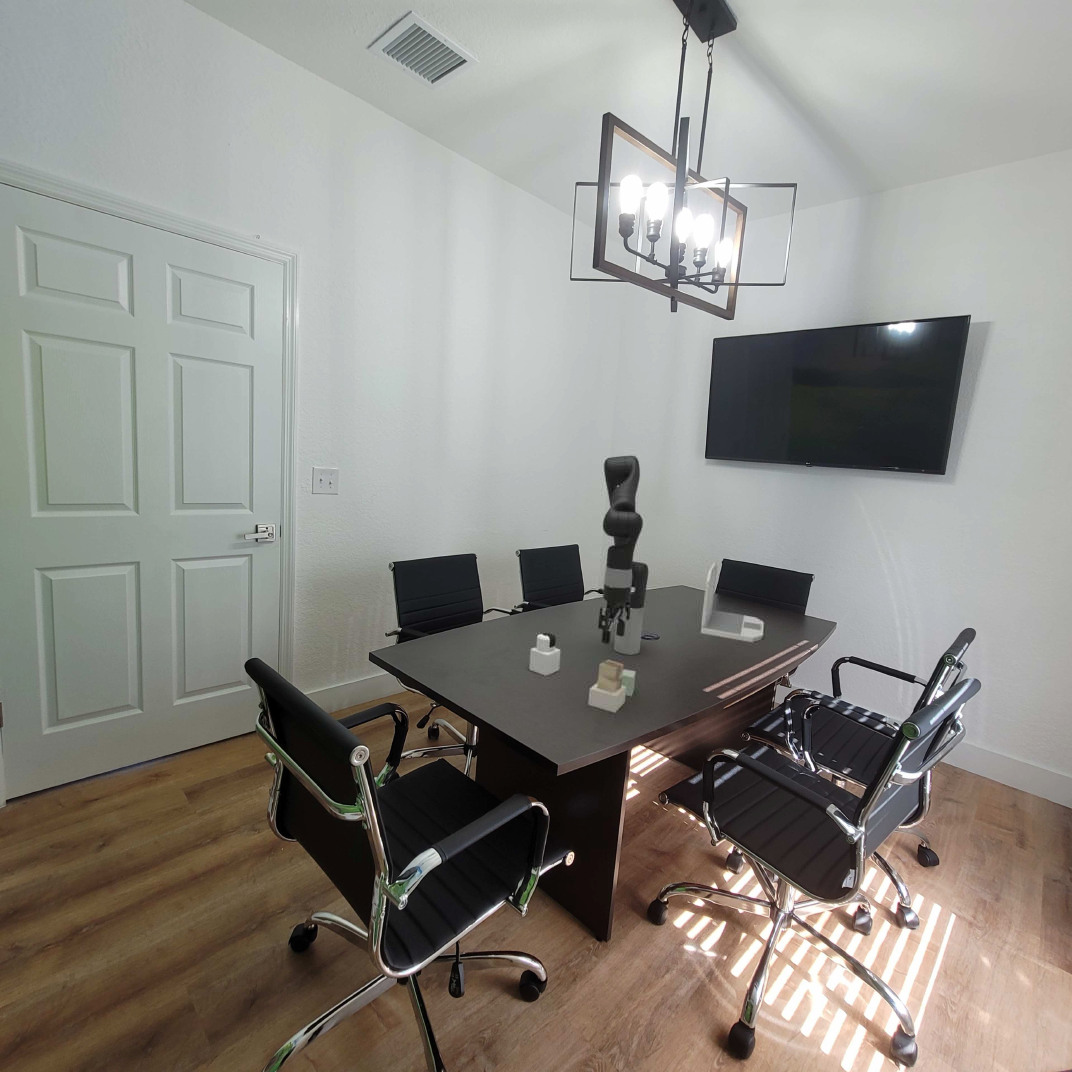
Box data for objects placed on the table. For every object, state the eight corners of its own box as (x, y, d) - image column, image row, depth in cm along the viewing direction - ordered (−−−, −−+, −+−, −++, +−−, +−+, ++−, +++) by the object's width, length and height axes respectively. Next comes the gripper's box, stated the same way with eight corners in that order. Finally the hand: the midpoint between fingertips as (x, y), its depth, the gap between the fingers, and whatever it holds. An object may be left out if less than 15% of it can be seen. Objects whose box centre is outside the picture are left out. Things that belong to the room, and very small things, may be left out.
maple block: (605, 682, 159) (607, 659, 158) (621, 687, 156) (623, 664, 155) (597, 687, 155) (599, 664, 154) (612, 693, 152) (615, 669, 151)
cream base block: (599, 695, 161) (600, 679, 161) (624, 703, 158) (626, 686, 157) (588, 705, 154) (589, 688, 154) (614, 713, 151) (616, 696, 150)
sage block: (617, 687, 168) (619, 668, 167) (633, 689, 166) (635, 671, 166) (614, 693, 163) (616, 674, 162) (631, 696, 162) (633, 677, 161)
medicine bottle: (542, 664, 182) (544, 629, 180) (559, 670, 178) (562, 635, 176) (528, 669, 177) (531, 634, 175) (545, 676, 172) (548, 640, 170)
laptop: (762, 644, 219) (770, 580, 215) (700, 633, 228) (707, 571, 224) (763, 623, 249) (770, 566, 245) (708, 614, 258) (714, 559, 255)
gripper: (617, 576, 158) (613, 630, 161) (593, 584, 147) (588, 642, 150) (641, 581, 154) (636, 636, 157) (617, 590, 143) (612, 649, 145)
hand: (613, 639), depth 153 cm, fingers open, 8 cm apart
